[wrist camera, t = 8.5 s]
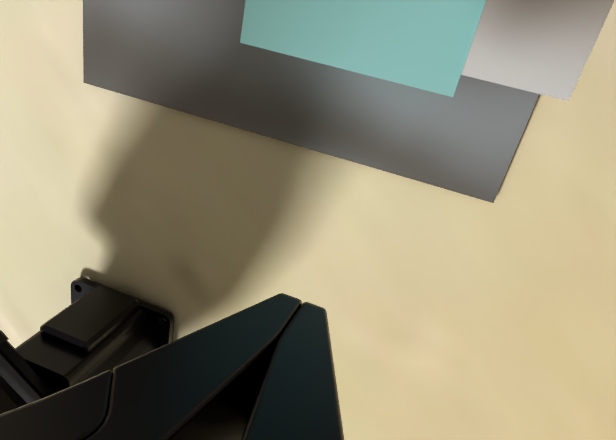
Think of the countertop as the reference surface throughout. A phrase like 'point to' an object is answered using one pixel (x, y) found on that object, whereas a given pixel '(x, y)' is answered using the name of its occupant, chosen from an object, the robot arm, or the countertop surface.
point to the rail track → (349, 84)
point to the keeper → (371, 36)
